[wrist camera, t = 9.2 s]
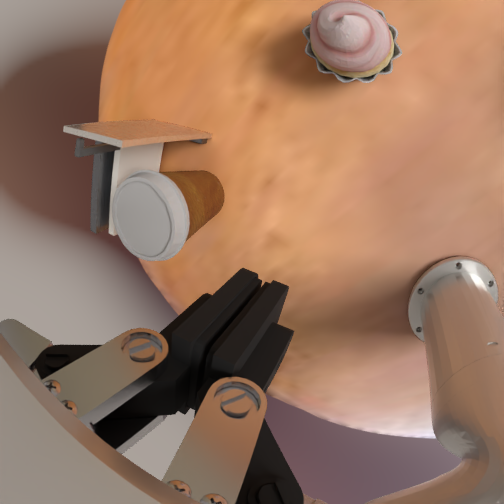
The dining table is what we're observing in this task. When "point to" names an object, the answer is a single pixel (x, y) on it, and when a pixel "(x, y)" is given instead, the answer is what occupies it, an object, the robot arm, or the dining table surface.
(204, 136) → the gauge frame
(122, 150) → the pale grey flat panel
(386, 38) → the cupcake
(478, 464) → the robot arm
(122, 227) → the disposable coffee cup
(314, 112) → the dining table surface
